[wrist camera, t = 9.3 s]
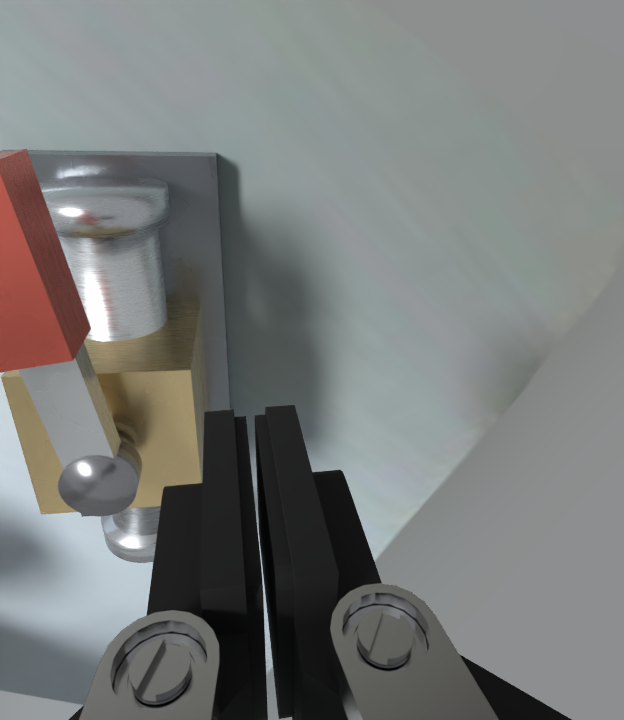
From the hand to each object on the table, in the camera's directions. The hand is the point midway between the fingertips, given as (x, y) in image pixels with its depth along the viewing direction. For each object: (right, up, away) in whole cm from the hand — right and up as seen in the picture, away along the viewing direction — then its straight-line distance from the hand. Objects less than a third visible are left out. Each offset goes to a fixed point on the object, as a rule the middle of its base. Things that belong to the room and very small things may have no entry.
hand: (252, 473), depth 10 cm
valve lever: (-6, +2, +6) cm, 9 cm away
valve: (-7, +2, +15) cm, 17 cm away
